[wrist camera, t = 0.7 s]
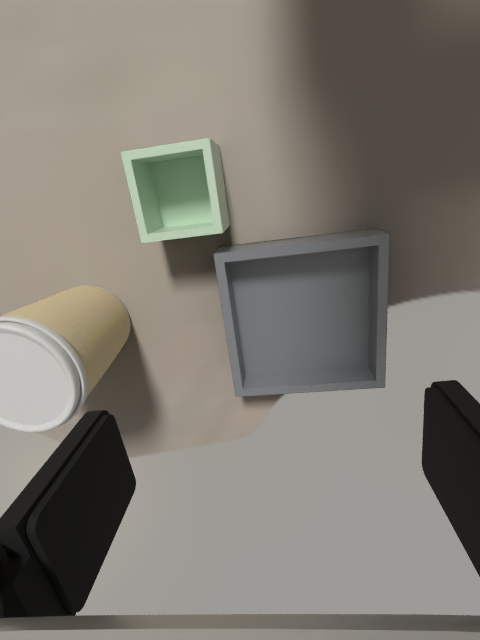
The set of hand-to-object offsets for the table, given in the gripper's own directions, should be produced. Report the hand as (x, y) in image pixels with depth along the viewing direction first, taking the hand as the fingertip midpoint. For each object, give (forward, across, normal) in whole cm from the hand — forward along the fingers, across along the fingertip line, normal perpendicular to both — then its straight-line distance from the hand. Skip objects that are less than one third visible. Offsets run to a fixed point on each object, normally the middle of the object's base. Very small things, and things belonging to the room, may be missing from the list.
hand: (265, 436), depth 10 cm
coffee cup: (+24, +18, +3) cm, 30 cm away
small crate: (+23, +6, -8) cm, 25 cm away
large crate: (+23, -3, +5) cm, 24 cm away
